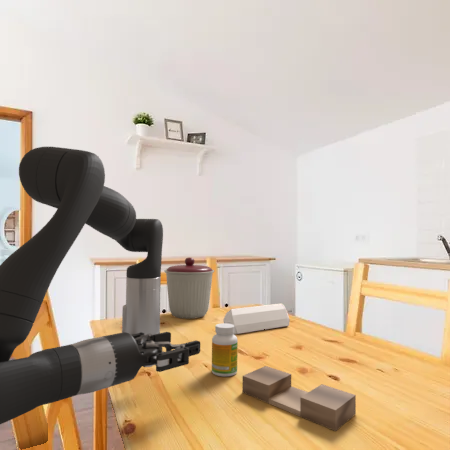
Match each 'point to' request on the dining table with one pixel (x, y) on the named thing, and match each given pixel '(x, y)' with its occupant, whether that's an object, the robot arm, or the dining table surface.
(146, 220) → the robot arm
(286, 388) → the brown wooden cradle
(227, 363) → the supplement bottle
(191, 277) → the canister
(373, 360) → the dining table surface
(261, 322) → the crystal
